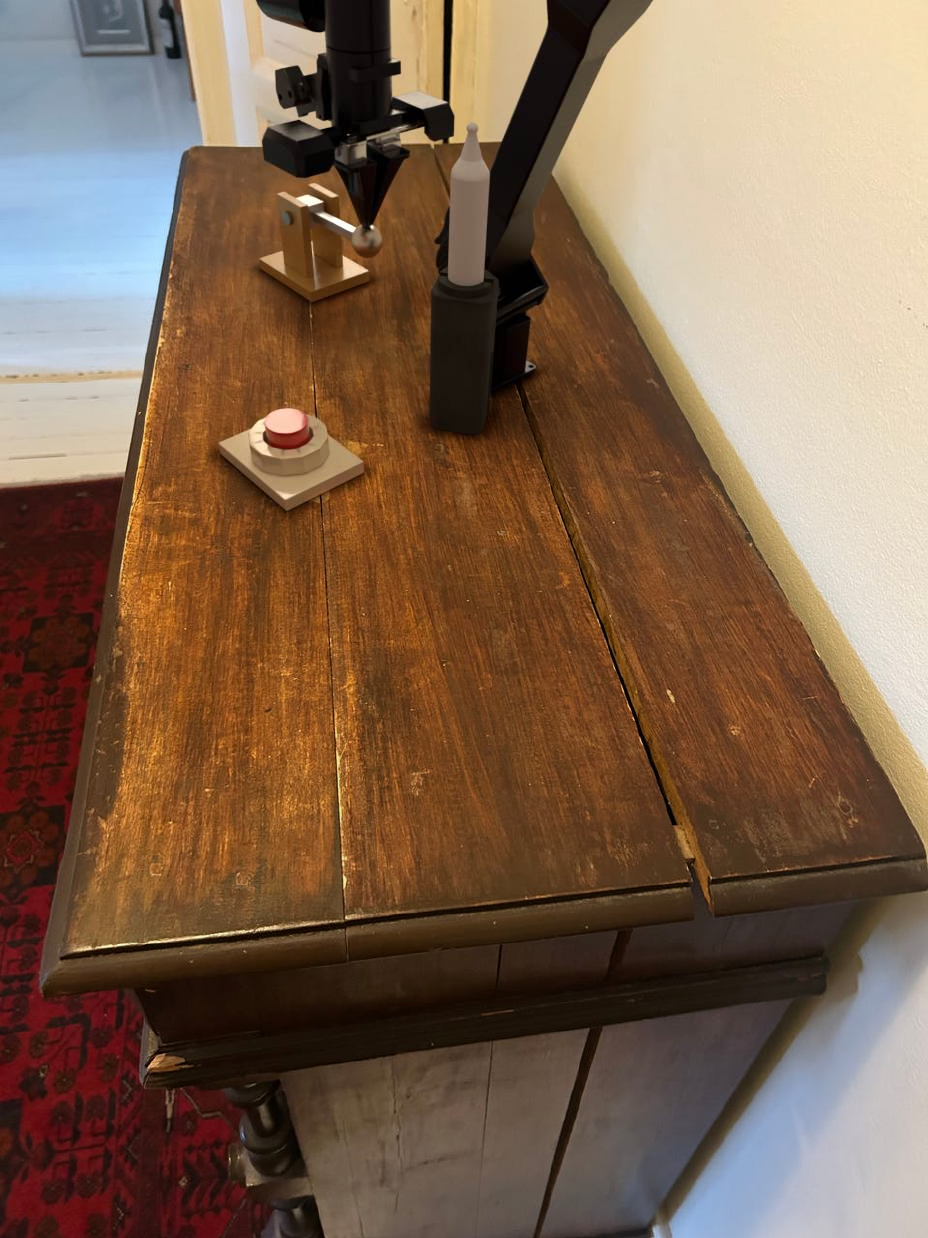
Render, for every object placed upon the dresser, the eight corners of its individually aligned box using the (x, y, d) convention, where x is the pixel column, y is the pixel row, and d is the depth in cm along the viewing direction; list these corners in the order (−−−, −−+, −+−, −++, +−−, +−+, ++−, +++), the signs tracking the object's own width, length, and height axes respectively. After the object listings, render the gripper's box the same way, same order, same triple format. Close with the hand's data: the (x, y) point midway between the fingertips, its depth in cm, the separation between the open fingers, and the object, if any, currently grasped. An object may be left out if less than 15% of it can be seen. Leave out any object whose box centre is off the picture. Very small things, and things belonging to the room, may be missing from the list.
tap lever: (389, 257, 89) (388, 225, 87) (365, 266, 88) (363, 233, 86) (315, 219, 96) (312, 188, 94) (291, 226, 94) (287, 195, 92)
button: (318, 439, 73) (317, 422, 72) (283, 456, 71) (280, 438, 70) (293, 420, 75) (291, 403, 73) (258, 436, 73) (255, 418, 72)
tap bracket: (369, 280, 98) (366, 200, 92) (311, 302, 94) (304, 220, 88) (317, 249, 103) (310, 170, 96) (259, 268, 99) (249, 188, 92)
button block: (364, 472, 74) (362, 443, 72) (286, 511, 71) (282, 482, 68) (296, 420, 79) (293, 391, 77) (220, 453, 75) (214, 424, 73)
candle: (481, 436, 79) (501, 137, 60) (426, 427, 79) (430, 129, 61) (491, 405, 82) (513, 114, 64) (438, 397, 83) (445, 106, 64)
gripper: (383, 8, 84) (387, 178, 95) (215, 38, 75) (242, 221, 86) (461, 35, 79) (455, 211, 90) (290, 71, 70) (308, 262, 81)
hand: (366, 225), depth 87 cm, fingers closed
